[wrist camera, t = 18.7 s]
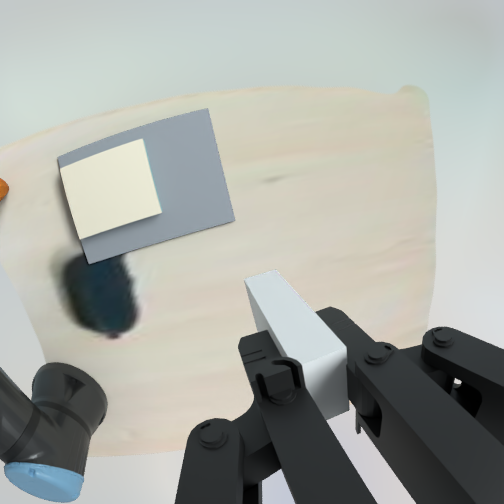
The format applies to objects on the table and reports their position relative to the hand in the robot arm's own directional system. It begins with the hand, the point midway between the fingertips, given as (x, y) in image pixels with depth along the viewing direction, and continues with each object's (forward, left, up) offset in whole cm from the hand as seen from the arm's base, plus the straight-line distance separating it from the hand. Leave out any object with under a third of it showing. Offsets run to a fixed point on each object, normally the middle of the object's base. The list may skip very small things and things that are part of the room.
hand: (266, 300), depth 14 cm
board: (-6, +7, -28) cm, 29 cm away
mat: (-8, +6, -29) cm, 31 cm away
